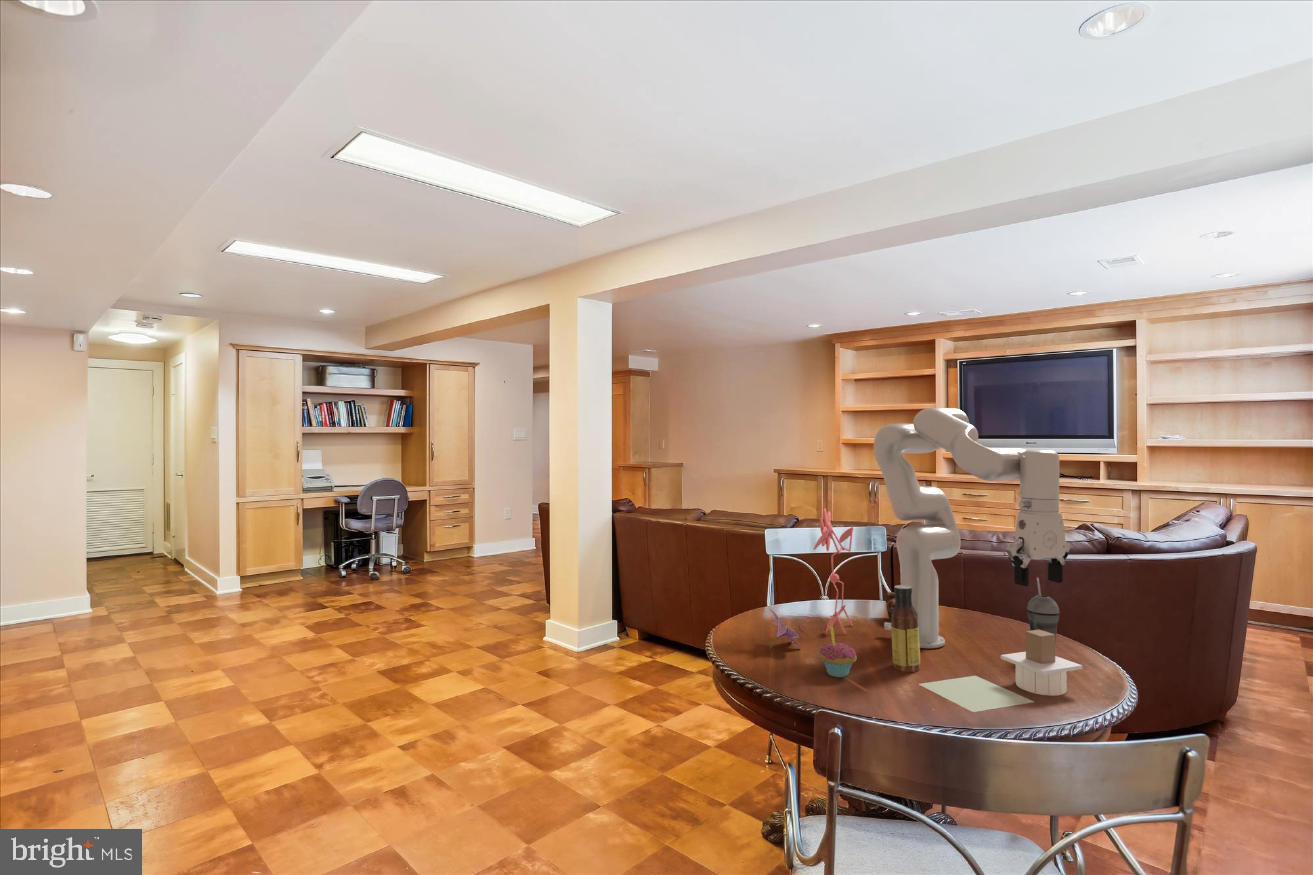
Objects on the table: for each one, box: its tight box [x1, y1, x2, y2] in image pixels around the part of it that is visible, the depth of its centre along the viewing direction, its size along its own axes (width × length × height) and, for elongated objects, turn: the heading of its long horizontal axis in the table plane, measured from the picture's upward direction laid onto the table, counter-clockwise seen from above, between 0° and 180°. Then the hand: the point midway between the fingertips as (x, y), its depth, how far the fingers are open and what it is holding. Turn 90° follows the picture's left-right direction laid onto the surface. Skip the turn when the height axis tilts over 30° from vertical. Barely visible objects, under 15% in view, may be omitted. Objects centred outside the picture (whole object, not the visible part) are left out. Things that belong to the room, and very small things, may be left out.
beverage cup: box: [1026, 577, 1061, 644], centre depth 166 cm, size 7×7×20 cm
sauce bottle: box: [890, 584, 921, 673], centre depth 158 cm, size 6×6×20 cm
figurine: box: [807, 507, 858, 635], centre depth 194 cm, size 15×26×35 cm, turn 152°
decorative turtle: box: [884, 591, 895, 621], centre depth 199 cm, size 10×15×8 cm, turn 27°
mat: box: [918, 675, 1035, 713], centre depth 142 cm, size 16×16×1 cm
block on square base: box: [1000, 630, 1083, 675], centre depth 145 cm, size 11×11×7 cm
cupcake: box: [819, 624, 858, 678], centre depth 155 cm, size 9×8×12 cm
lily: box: [768, 607, 801, 649], centre depth 175 cm, size 12×12×10 cm
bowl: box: [1015, 664, 1068, 697], centre depth 145 cm, size 10×10×6 cm
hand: (1038, 583), depth 146 cm, fingers open, 9 cm apart
